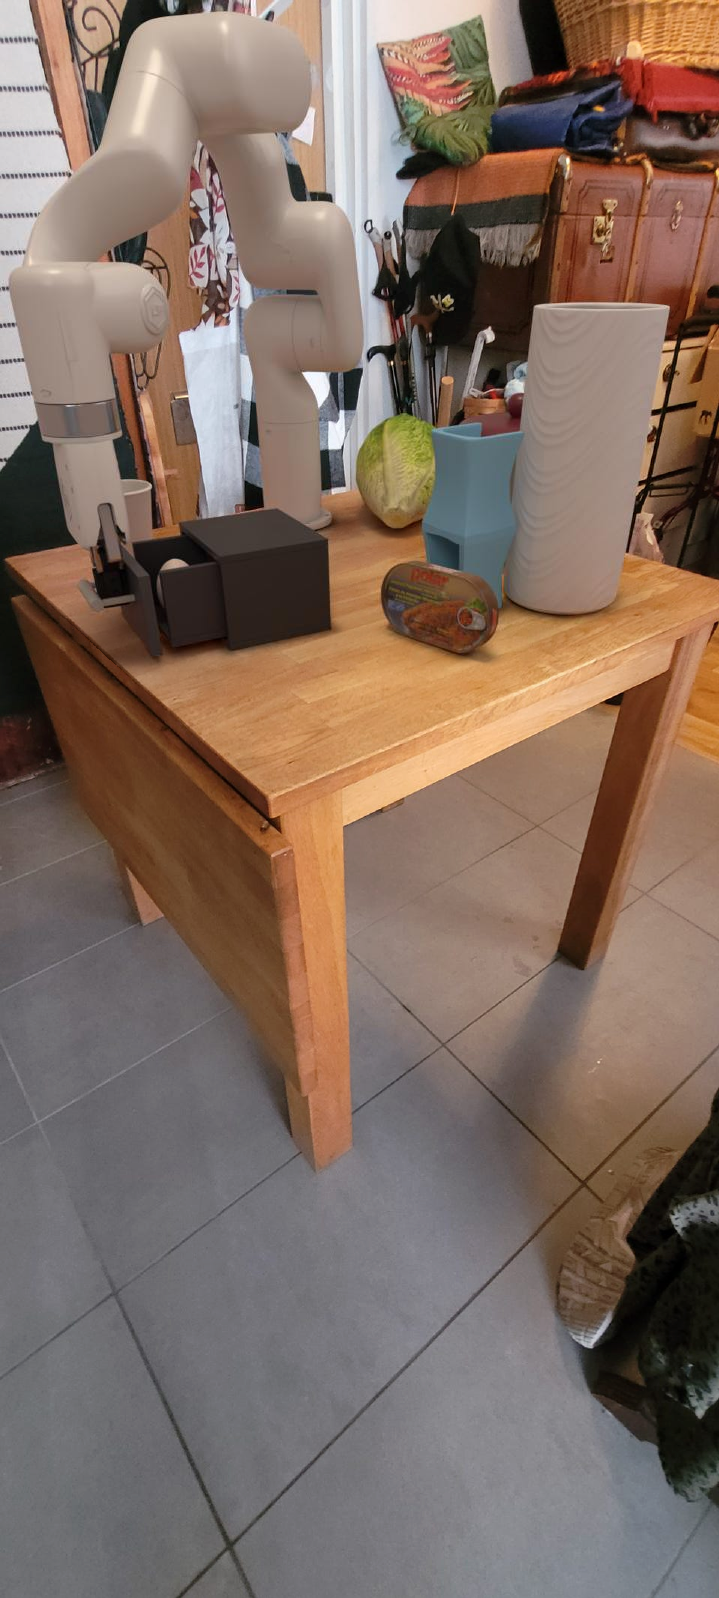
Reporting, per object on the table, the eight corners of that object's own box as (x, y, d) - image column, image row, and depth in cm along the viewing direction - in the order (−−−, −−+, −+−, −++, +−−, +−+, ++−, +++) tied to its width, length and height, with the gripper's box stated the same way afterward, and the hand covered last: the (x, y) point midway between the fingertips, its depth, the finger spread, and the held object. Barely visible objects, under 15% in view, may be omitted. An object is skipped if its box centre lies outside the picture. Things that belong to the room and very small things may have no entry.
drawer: (108, 666, 81) (90, 584, 76) (82, 623, 91) (65, 548, 85) (252, 636, 87) (244, 559, 82) (213, 598, 97) (204, 527, 92)
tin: (378, 627, 91) (379, 556, 86) (395, 619, 93) (397, 549, 88) (482, 663, 83) (489, 587, 78) (499, 654, 84) (507, 579, 80)
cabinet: (230, 650, 86) (219, 556, 80) (190, 608, 96) (178, 522, 90) (331, 629, 91) (328, 538, 84) (282, 590, 101) (277, 507, 95)
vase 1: (507, 606, 96) (525, 431, 84) (459, 620, 92) (471, 440, 81) (466, 588, 101) (478, 421, 90) (419, 600, 98) (425, 429, 86)
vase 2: (543, 625, 91) (587, 310, 73) (481, 587, 102) (505, 304, 83) (640, 606, 95) (704, 306, 77) (570, 571, 106) (612, 300, 88)
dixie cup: (104, 568, 109) (90, 495, 103) (104, 551, 116) (90, 481, 110) (164, 563, 111) (153, 490, 105) (160, 546, 117) (150, 477, 112)
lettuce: (447, 564, 124) (352, 572, 127) (456, 476, 137) (370, 485, 141) (436, 482, 112) (332, 493, 115) (448, 394, 125) (354, 406, 129)
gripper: (27, 413, 78) (67, 589, 88) (52, 436, 67) (95, 634, 78) (102, 407, 81) (132, 578, 91) (137, 429, 70) (167, 620, 80)
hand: (115, 603), depth 84 cm, fingers closed
